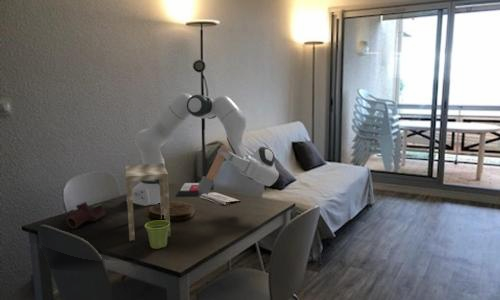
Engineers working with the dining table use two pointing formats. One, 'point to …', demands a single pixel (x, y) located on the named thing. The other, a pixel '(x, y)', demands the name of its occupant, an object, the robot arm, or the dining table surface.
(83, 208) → the bracket
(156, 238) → the plant pot
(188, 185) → the calculator
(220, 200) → the newspaper
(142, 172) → the frame
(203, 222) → the dining table surface
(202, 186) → the mallet
